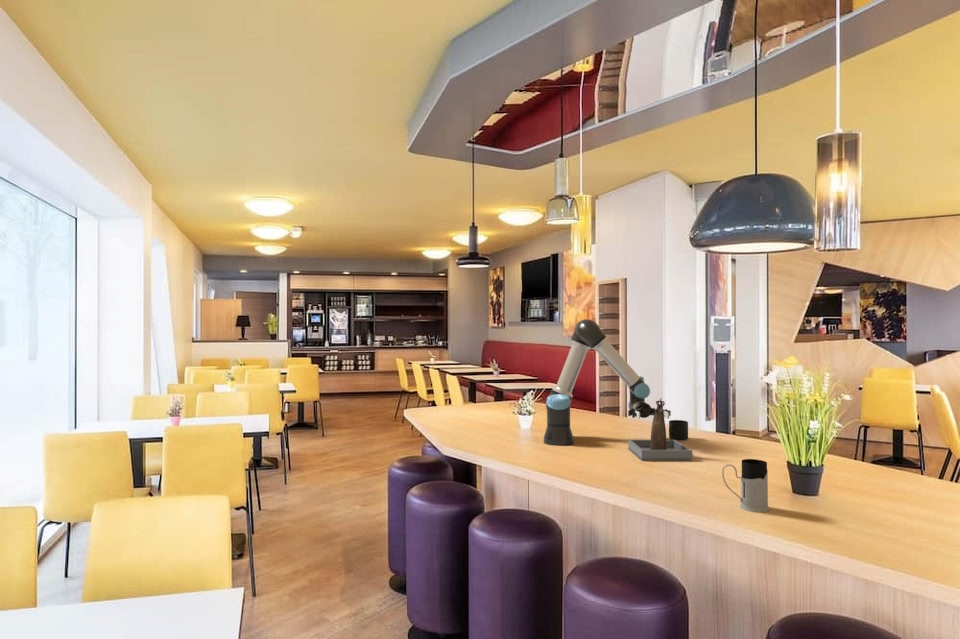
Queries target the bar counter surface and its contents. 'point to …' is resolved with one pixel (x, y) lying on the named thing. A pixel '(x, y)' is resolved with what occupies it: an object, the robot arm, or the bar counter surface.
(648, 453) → the box
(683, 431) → the mug
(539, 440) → the bar counter surface
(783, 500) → the bar counter surface
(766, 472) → the glass holder
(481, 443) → the bar counter surface
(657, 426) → the statue
